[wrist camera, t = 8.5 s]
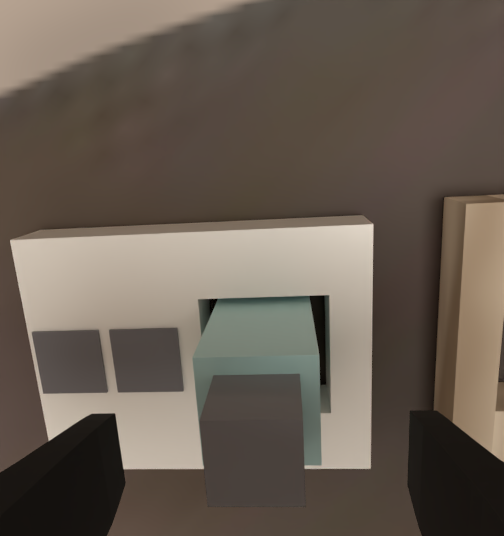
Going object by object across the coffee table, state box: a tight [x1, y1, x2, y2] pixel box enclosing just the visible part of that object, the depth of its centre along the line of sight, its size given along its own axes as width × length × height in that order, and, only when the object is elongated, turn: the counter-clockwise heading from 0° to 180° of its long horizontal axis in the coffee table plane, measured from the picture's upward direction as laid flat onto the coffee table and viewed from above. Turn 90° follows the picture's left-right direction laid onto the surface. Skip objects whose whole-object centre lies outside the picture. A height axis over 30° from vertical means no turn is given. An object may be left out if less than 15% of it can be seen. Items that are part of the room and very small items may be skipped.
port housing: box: [10, 215, 373, 469], centre depth 17 cm, size 12×9×2 cm
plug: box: [192, 296, 322, 507], centre depth 14 cm, size 3×3×8 cm
